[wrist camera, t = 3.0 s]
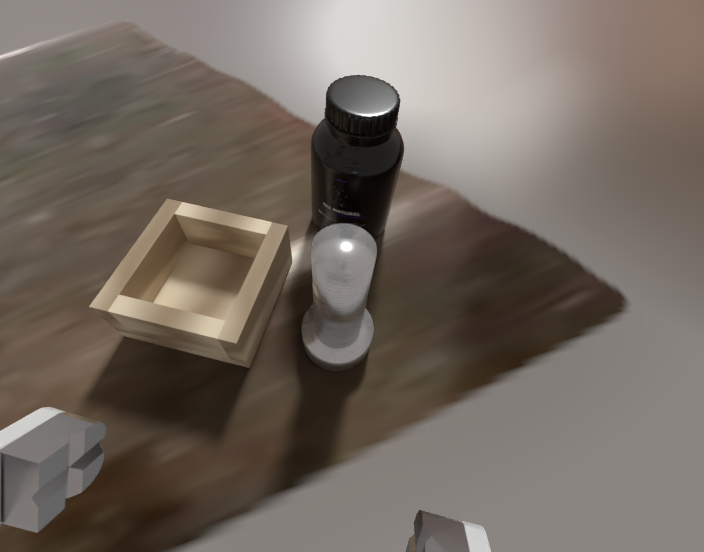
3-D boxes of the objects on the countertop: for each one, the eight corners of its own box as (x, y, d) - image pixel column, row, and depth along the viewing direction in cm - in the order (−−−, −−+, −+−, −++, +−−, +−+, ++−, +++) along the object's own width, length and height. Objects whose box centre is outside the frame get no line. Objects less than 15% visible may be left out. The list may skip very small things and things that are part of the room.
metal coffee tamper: (293, 361, 25) (277, 279, 16) (313, 301, 28) (309, 201, 19) (362, 379, 25) (385, 305, 16) (376, 316, 28) (402, 221, 18)
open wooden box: (123, 336, 25) (89, 306, 22) (186, 236, 31) (167, 198, 27) (249, 368, 25) (236, 343, 21) (292, 261, 30) (287, 225, 26)
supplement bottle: (323, 256, 30) (322, 133, 20) (304, 199, 34) (297, 70, 24) (398, 241, 32) (432, 119, 22) (373, 188, 35) (393, 61, 25)
